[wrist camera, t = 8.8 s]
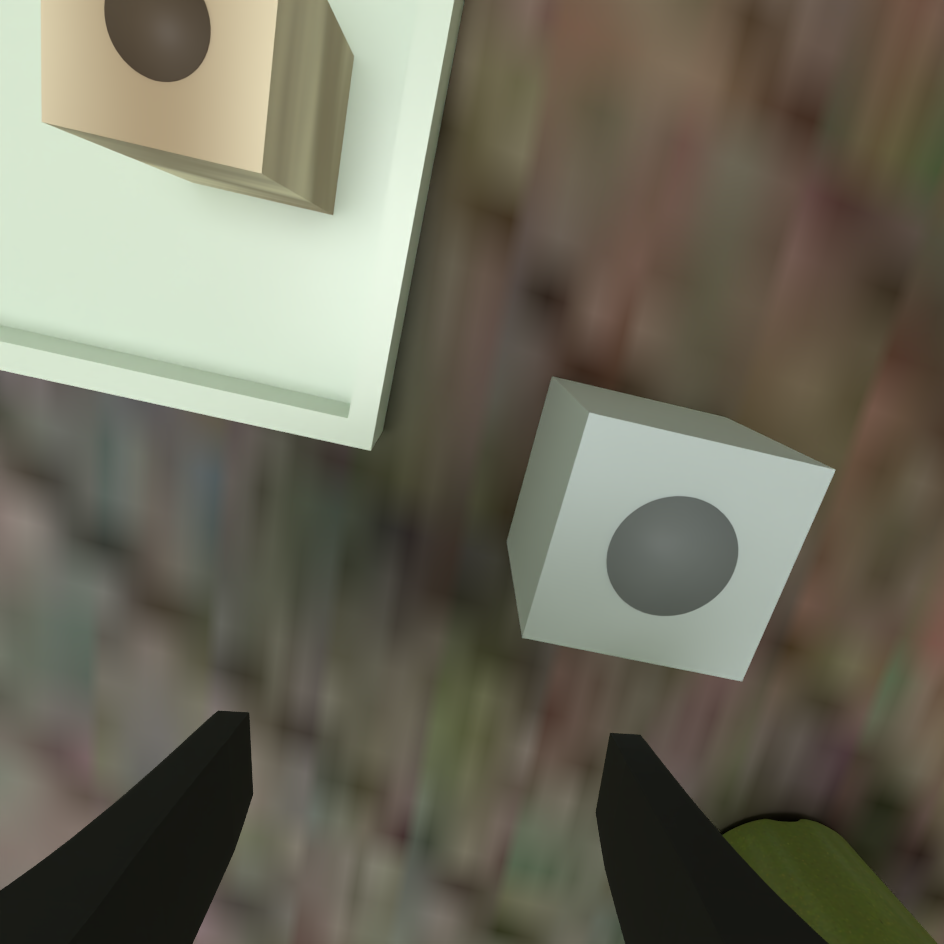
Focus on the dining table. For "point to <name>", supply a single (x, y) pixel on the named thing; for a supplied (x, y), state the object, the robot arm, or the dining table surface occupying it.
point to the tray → (224, 248)
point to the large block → (656, 530)
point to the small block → (205, 89)
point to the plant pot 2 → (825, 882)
